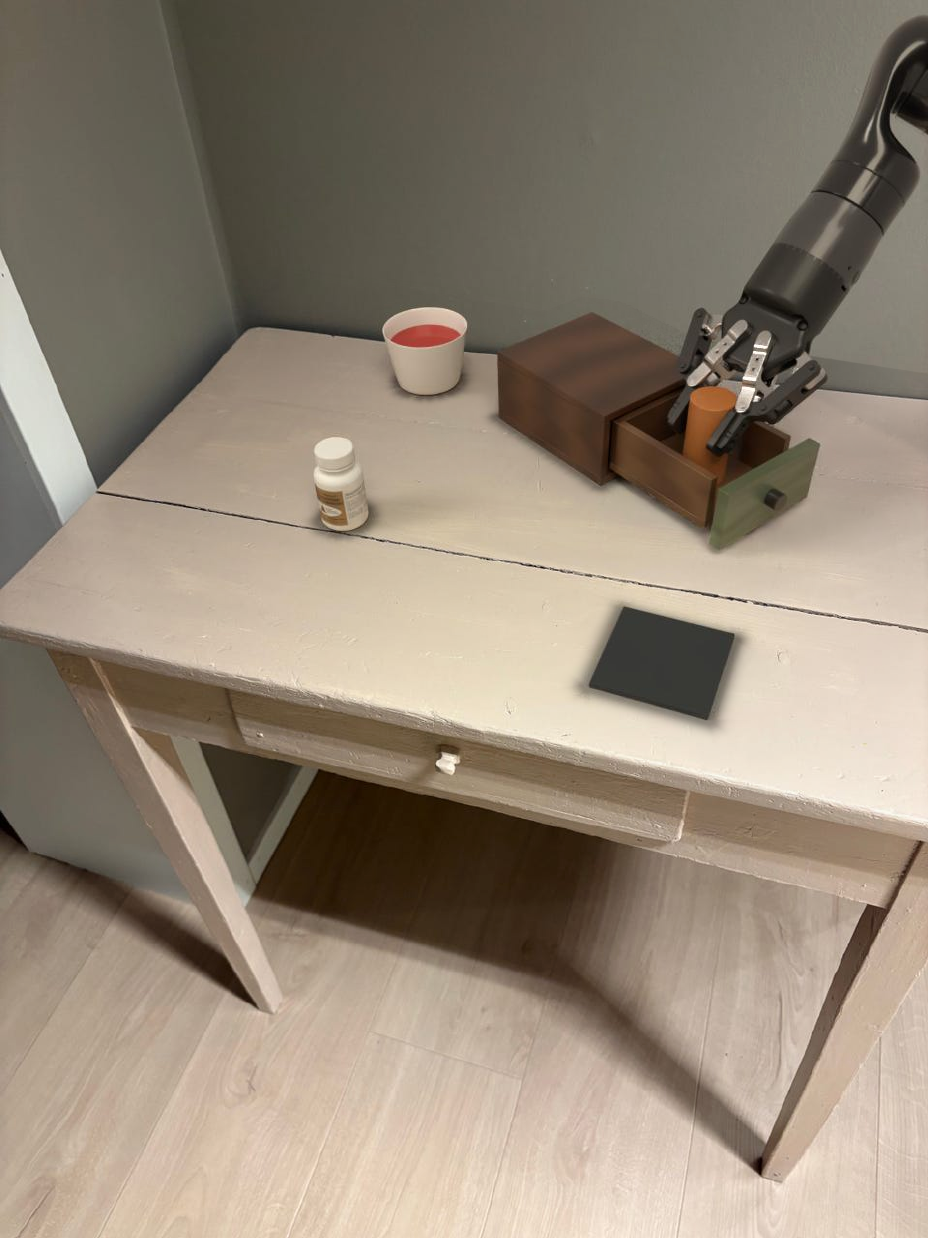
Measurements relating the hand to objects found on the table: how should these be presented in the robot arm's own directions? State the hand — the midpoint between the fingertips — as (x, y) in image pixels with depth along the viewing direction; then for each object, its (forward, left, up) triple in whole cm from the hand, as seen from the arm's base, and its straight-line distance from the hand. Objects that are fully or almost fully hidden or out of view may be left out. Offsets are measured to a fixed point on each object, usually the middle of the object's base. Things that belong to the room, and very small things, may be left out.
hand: (693, 440), depth 84 cm
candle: (+32, -12, -7) cm, 34 cm away
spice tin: (-1, -2, -5) cm, 5 cm away
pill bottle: (+29, +13, -7) cm, 32 cm away
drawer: (-2, -1, -6) cm, 6 cm away
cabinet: (+12, -9, -7) cm, 16 cm away
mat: (-3, +21, -7) cm, 22 cm away
